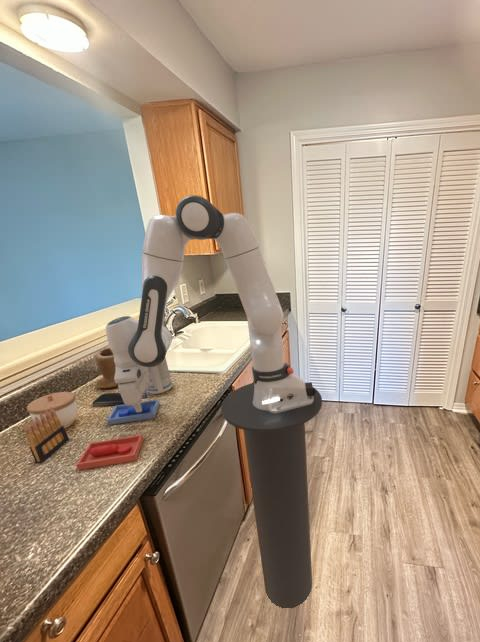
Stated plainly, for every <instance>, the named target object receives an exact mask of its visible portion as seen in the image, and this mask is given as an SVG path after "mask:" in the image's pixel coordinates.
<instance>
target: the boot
mask: <svg viewBox="0 0 480 642" xmlns="http://www.w3.org/2000/svg"><path fill="white" fill-rule="evenodd" d="M95 362H96V366H97V369H98V370H99V372H100V373H101V375H102V378H100V379H99V380H98V381H96V383H95V384H94V385H95V387H96V388H98V389H111V388H115V387H118V385H119V383H118V384H116V383H115V380H114V376H115V372H116V369H115V367H116V366H115V363H114V355H113V353H112V351H111V350H110V347H109V346H108V347H105V348H101V349H99V350H98V351H97V353H96V354H95Z"/></svg>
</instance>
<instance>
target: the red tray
mask: <svg viewBox="0 0 480 642" xmlns="http://www.w3.org/2000/svg"><path fill="white" fill-rule="evenodd" d="M143 443H144V436H143V434H137V435H132V436H125V437H119V438H113V439H106V440H100V441H93V442H89V443H88V445H87V446H86V448H85V450H84V452H83V453H82V455H81V457H79V460H78V462H77V463H76V465H75V466H76V467H77V470H78V471H83V470H89V469H95V468H100V467H107V466H112V465H117V464H123V463H128V462H129V463H130V462H134V461H137V460H138V456H139V454H140V451H141V448H142V446H143ZM111 444H117V445H118V446H121V445H123V444H130V445H131V448H132V450H131V451H130V452H129V453H127V454H124V455H119V454H118V453H117V452H116V453H114V454H108V455H102V456H92V455H91V454H90V451H91V449H92V448H94V447H98V446H104V445H111Z"/></svg>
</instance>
